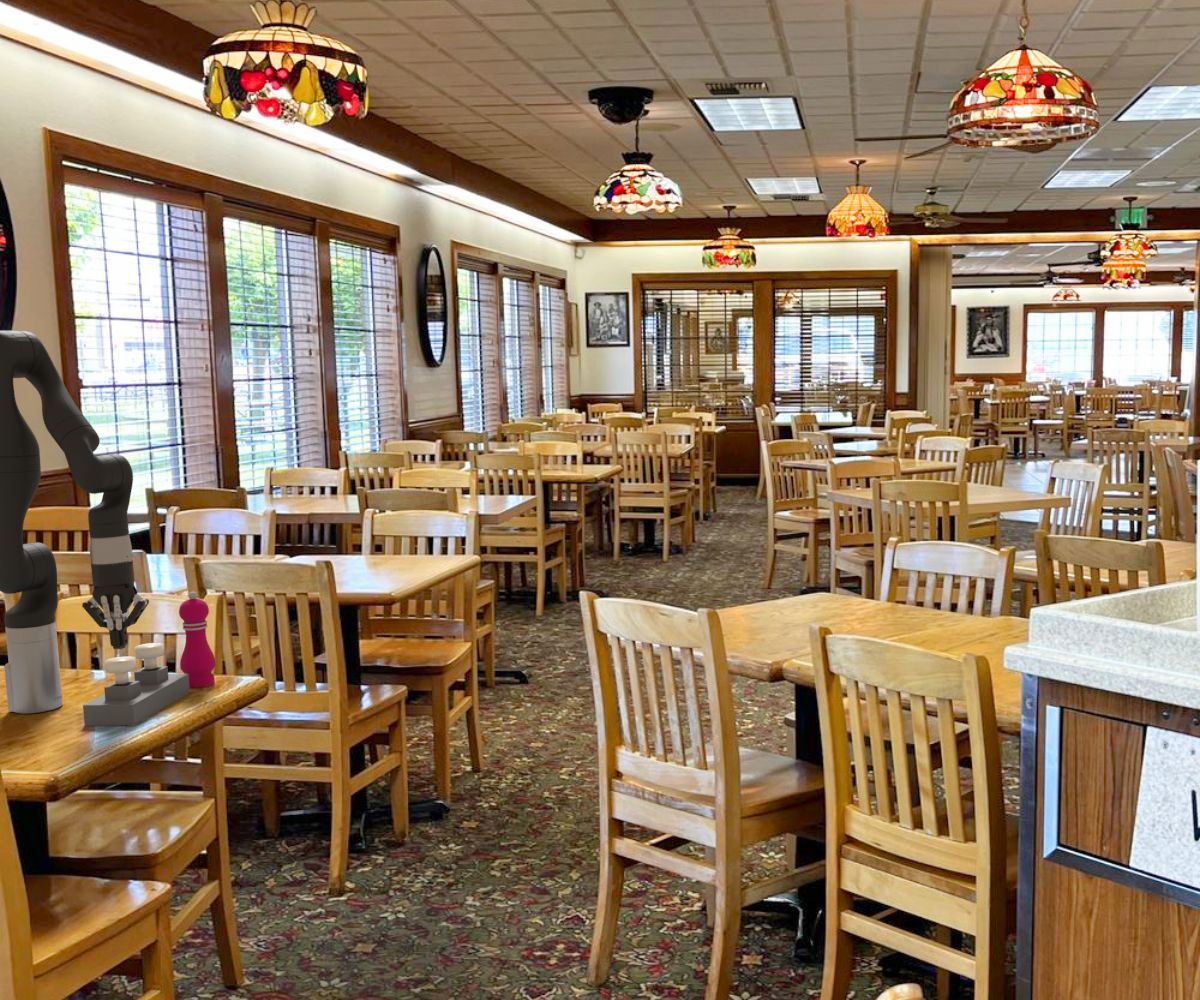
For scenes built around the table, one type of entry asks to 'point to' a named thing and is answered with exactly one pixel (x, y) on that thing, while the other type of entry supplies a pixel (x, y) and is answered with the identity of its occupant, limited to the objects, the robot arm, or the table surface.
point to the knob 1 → (120, 668)
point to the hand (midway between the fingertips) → (119, 648)
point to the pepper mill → (196, 643)
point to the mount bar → (136, 698)
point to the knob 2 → (149, 653)
